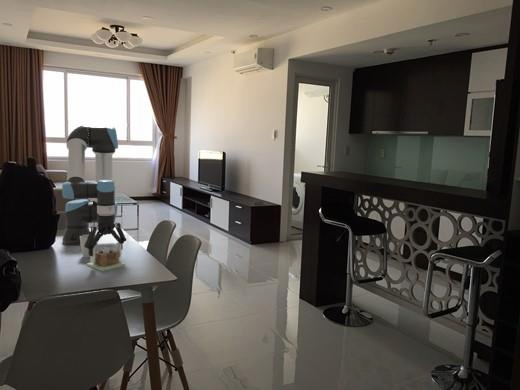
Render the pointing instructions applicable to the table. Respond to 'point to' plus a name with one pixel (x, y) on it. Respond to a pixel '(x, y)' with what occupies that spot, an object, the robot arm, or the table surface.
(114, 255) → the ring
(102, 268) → the peg stand
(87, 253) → the cup
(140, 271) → the table surface
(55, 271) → the table surface
